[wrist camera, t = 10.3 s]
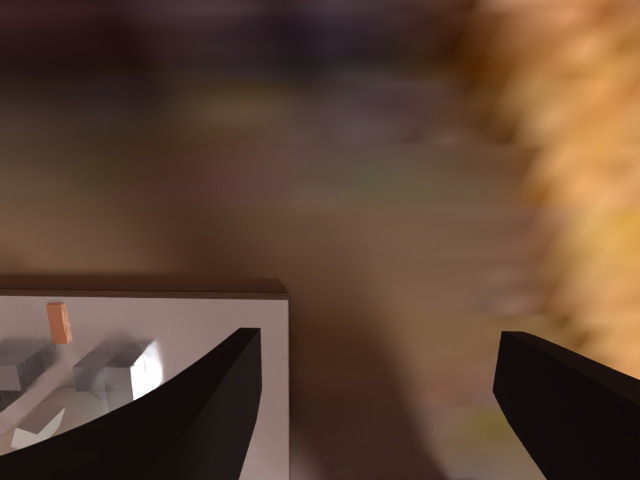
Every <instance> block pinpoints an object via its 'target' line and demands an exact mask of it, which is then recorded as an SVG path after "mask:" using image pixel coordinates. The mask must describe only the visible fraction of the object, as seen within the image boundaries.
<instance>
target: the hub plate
mask: <svg viewBox="0 0 640 480" xmlns="http://www.w3.org/2000/svg"><path fill="white" fill-rule="evenodd" d="M240 327H242V328H261V359H262V392H261V398H260V404H259V410H258V416H257V421H256V424H255V428H254V431H253V434H252V438H251V441H250V445H249V448H248V451H247V455H246V458H245V461H244V464H243V468H242V471H241V474H240V478H239V480H290V293H233V292H167V291H100V290H34V289H0V437H1V436H2V435H3V434H4V433H5V432H7V431H8V430H9V429H10V428H11V427H12V426H13V425H15V424H16V423H17V422H18V421H19V420H20V419H21V418H22V417H24V416H25V415H26V414H27V413H28V412H29V411H30V410H32V409H33V408H34V407H35V406H36V405H37V404H38V403H40V402H41V401H42V400H43V399H44V398H45V397H46V396H47V395H49V394H50V393H52V392H53V391H55V390H58V389H61V388H76V391H88V392H91V393H93V394H94V395H96V396H97V397H99V398H100V399H101V400H102V401H103V402H104V403H105V404H106V406H107V407H108V412H111V411H113V410H115V409H117V408H119V407H121V406H123V405H125V404H128V403H130V402H132V401H133V400H135V399H137V398H139V397H141V396H143V395H144V394H146V393H148V392H150V391H151V390H153V389H155V388H157V387H158V386H160V385H162V384H163V383H165V382H167V381H168V380H170V379H171V378H173V377H174V376H176V375H177V374H179V373H180V372H182V371H183V370H184V369H186V368H187V367H189V366H190V365H192V364H193V363H195V362H196V361H197V360H199V359H200V358H202V357H203V356H204V355H206V354H207V353H208V352H209V351H211V350H212V349H213V348H215V347H216V346H217V345H218V344H220V343H221V342H222V341H223V340H225V339H226V338H227V337H228V336H230V335H231V334H232V333H233V332H235V331H236V330H237V329H239V328H240Z"/></svg>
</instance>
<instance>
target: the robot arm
mask: <svg viewBox="0 0 640 480" xmlns="http://www.w3.org/2000/svg"><path fill="white" fill-rule="evenodd" d="M261 392H262V359H261V328H242V327H240V328H239V329H237V330H236V331H235V332H233V333H232V334H231V335H230V336H228V337H227V338H226V339H225V340H223V341H222V342H221V343H220V344H218V345H217V346H216V347H215V348H213V349H212V350H211V351H209V352H208V353H207V354H206V355H204V356H203V357H202V358H200V359H199V360H197V361H196V362H195V363H193V364H192V365H190V366H189V367H187V368H186V369H184V370H183V371H182V372H180V373H179V374H177V375H176V376H174V377H173V378H171V379H170V380H168V381H167V382H165V383H163V384H162V385H160V386H158V387H157V388H155V389H153V390H151V391H150V392H148V393H146V394H144V395H143V396H141V397H139V398H137V399H135V400H133V401H132V402H130V403H128V404H125V405H123V406H121V407H119V408H117V409H115V410H113V411H111V412H109V413H107V414H105V415H102V416H100V417H98V418H96V419H94V420H92V421H90V422H88V423H85V424H83V425H81V426H78V427H76V428H73V429H71V430H69V431H66V432H64V433H61V434H59V435H56V436H53V437H51V438H48V439H46V440H43V441H40V442H38V443H35V444H33V445H30V446H27V447H24V448H21V449H19V450H16V451H13V452H10V453H7V454H4V455H0V480H239V478H240V474H241V471H242V468H243V464H244V461H245V458H246V455H247V451H248V448H249V445H250V441H251V438H252V434H253V431H254V428H255V424H256V421H257V416H258V410H259V404H260V398H261ZM493 393H494V395H495V397H496V399H497V401H498V403H499V406H500V408H501V410H502V411H503V413H504V415H505V417H506V419H507V421H508V423H509V424H510V426H511V428H512V429H513V431H514V432H515V434H516V435H517V437H518V438H519V440H520V441H521V443H522V444H523V445H524V447H525V448H526V450H527V451H528V453H529V454H530V456H531V457H532V459H533V460H534V462H535V463H536V464H537V466H538V467H539V469H540V470H541V472H542V473H543V475H544V476H545V478H546V479H547V480H640V380H639V379H636V378H634V377H631V376H629V375H626V374H624V373H621V372H619V371H617V370H614V369H612V368H609V367H607V366H605V365H603V364H600V363H598V362H596V361H593V360H591V359H589V358H586V357H584V356H582V355H580V354H577V353H575V352H573V351H571V350H568V349H566V348H564V347H561V346H559V345H557V344H554V343H552V342H550V341H547V340H545V339H542V338H540V337H537V336H535V335H532V334H529V333H525V332H519V331H502V333H501V339H500V346H499V352H498V359H497V365H496V372H495V378H494V385H493Z"/></svg>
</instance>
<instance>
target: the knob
mask: <svg viewBox="0 0 640 480" xmlns="http://www.w3.org/2000/svg"><path fill="white" fill-rule="evenodd" d="M107 413H109V412H108V407H107V406H106V404H105V403H104V402H103V401H102V400H101V399H100V398H99V397H97V396H96V395H94V394H93V393H91V392H88V391H76V388H61V389H58V390H55V391H53V392H52V393H50V394H49V395H47V396H46V397H45V398H44V399H43V400H42V401H41V402H40V403H38V404H37V405H36V406H35V407H34V408H33V409H32V410H30V411H29V412H28V413H27V414H26V415H25V416H24V417H22V418H21V419H20V420H19V421H18V422H17V423H16V424H15V425H13V426H12V427H11V428H10V429H9V430H8V431H7V432H5V433H4V434H3V435H2V436H1V437H0V455H4V454H7V453H10V452H13V451H16V450H19V449H21V448H24V447H27V446H30V445H33V444H35V443H38V442H40V441H43V440H46V439H48V438H51V437H53V436H56V435H59V434H61V433H64V432H66V431H69V430H71V429H73V428H76V427H78V426H81V425H83V424H85V423H88V422H90V421H92V420H94V419H96V418H98V417H100V416H102V415H105V414H107Z"/></svg>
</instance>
